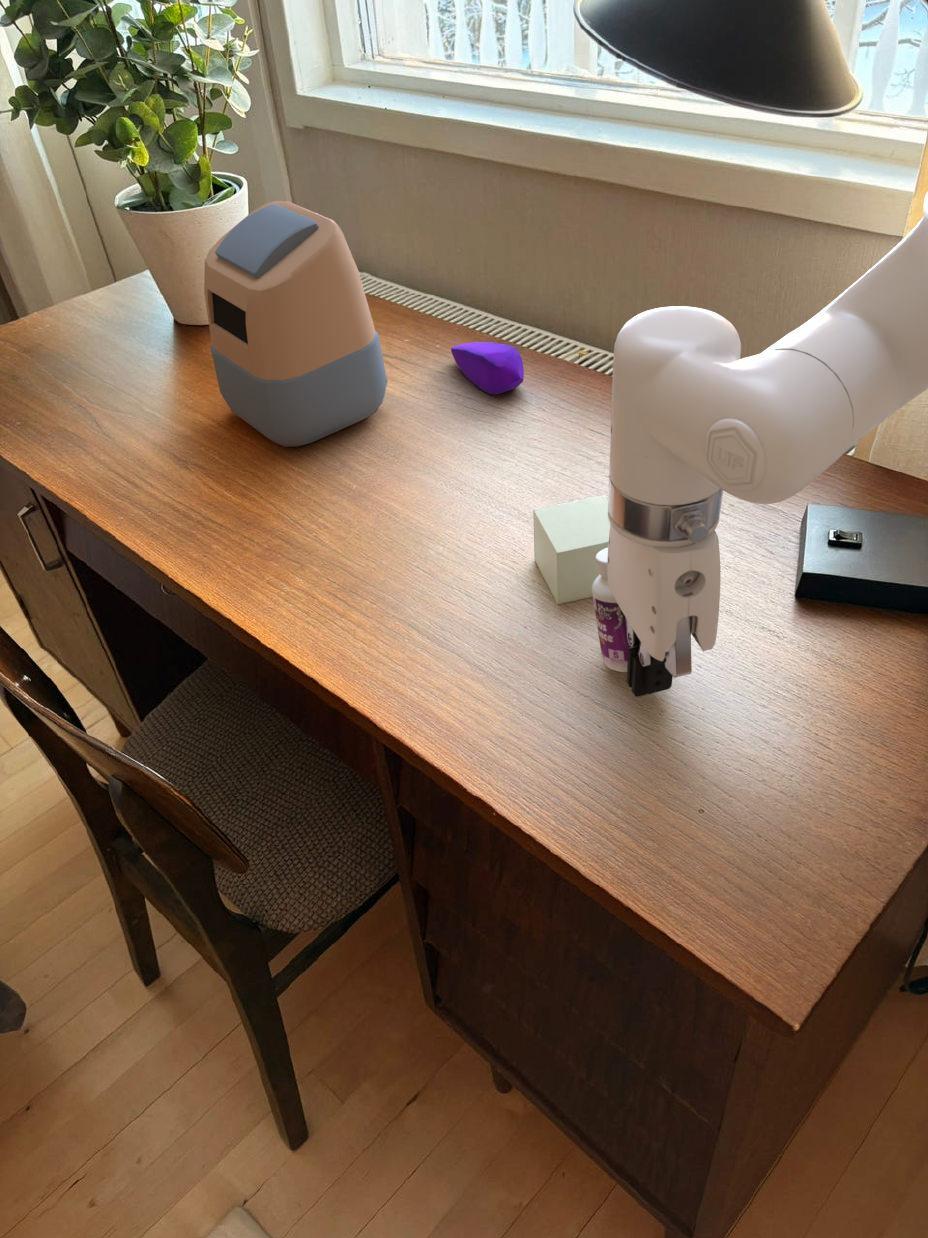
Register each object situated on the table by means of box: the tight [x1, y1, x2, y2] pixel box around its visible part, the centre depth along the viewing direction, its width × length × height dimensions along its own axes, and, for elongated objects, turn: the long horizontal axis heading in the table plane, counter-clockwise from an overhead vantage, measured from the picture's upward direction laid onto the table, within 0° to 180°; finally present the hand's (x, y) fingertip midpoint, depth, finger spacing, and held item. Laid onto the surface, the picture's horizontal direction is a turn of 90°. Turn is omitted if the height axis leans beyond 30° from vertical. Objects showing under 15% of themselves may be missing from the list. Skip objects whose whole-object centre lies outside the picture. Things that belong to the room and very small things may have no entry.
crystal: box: [450, 341, 525, 396], centre depth 118 cm, size 5×5×15 cm
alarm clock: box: [203, 200, 388, 447], centre depth 108 cm, size 17×17×23 cm
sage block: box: [532, 494, 610, 605], centre depth 87 cm, size 7×7×6 cm
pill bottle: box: [592, 548, 634, 673], centre depth 77 cm, size 5×5×10 cm
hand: (648, 686), depth 76 cm, fingers closed
